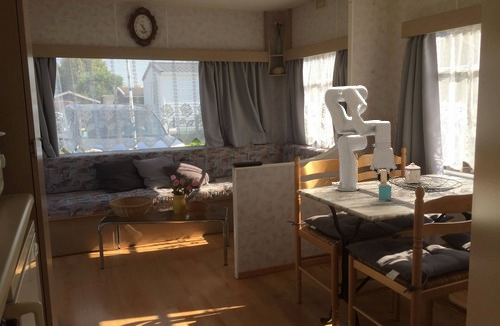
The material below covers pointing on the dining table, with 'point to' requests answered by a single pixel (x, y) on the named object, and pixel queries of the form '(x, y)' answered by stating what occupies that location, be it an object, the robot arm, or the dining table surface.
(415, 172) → the teacup with lid
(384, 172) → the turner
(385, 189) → the tile
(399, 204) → the mat
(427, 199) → the dining table surface
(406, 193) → the tool rest
